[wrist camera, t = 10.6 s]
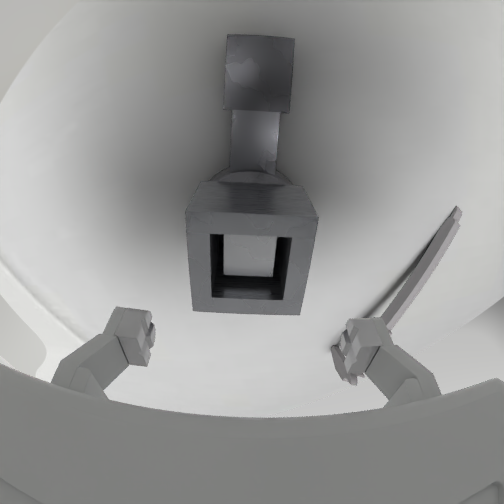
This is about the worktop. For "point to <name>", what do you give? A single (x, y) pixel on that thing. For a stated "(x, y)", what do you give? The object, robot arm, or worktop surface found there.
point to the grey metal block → (255, 224)
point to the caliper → (409, 287)
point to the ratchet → (254, 135)
